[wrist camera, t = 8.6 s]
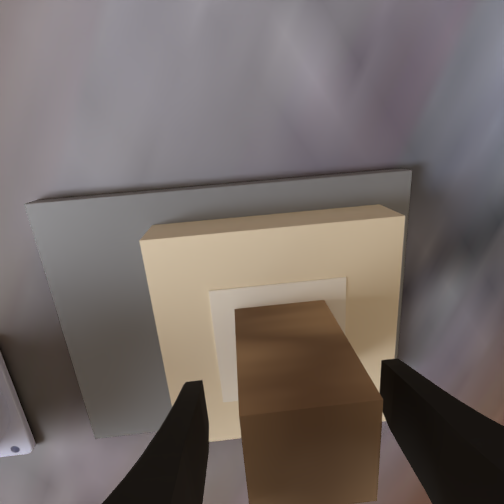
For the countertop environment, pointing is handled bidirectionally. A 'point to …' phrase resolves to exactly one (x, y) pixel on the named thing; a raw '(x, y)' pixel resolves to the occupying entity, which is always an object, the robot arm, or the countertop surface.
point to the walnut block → (305, 408)
